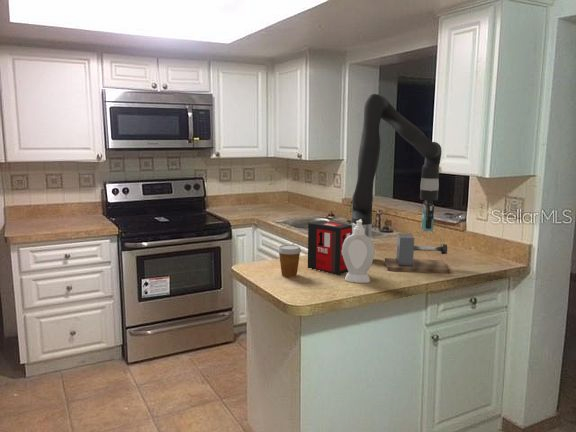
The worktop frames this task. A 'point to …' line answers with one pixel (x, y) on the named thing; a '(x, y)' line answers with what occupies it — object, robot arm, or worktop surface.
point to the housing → (405, 249)
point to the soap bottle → (358, 255)
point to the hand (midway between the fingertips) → (427, 227)
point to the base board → (418, 266)
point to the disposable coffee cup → (289, 259)
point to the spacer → (425, 223)
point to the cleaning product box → (327, 246)
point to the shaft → (432, 248)
